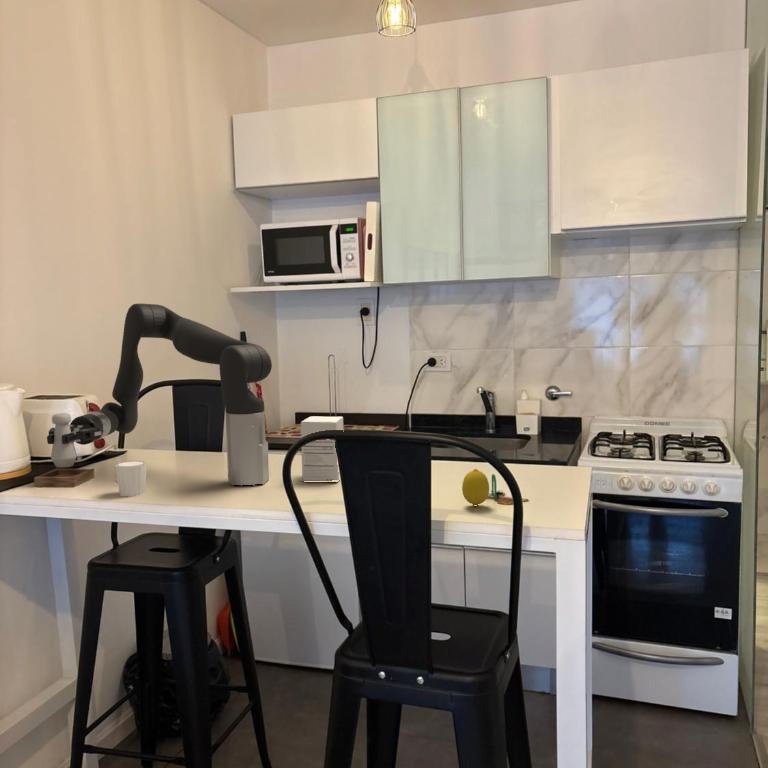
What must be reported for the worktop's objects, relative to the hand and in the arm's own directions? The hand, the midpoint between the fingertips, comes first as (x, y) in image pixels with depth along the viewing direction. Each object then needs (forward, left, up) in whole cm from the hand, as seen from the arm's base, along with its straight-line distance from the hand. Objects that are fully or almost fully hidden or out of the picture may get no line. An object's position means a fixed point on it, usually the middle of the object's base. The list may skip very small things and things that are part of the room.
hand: (56, 439), depth 177 cm
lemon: (-100, +18, -11) cm, 102 cm away
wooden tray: (0, -3, -11) cm, 11 cm away
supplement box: (-64, -7, -11) cm, 65 cm away
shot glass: (-22, +8, -11) cm, 26 cm away
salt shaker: (0, -3, -7) cm, 8 cm away
